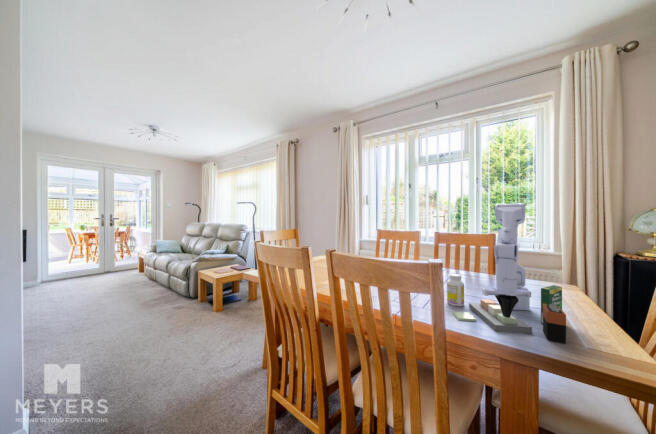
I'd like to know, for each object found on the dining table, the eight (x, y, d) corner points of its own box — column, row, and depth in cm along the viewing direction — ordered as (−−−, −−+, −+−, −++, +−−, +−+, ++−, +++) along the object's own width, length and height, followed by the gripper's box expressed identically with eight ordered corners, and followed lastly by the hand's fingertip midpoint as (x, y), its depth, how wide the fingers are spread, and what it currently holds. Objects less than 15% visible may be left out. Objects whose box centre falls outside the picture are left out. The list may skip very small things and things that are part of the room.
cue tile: (468, 314, 92) (468, 312, 92) (476, 321, 87) (476, 319, 87) (452, 313, 93) (452, 311, 93) (458, 320, 87) (458, 318, 87)
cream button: (499, 312, 90) (499, 305, 90) (505, 317, 86) (505, 309, 86) (488, 312, 90) (488, 304, 90) (493, 316, 87) (493, 308, 87)
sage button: (509, 322, 84) (509, 314, 84) (516, 327, 80) (516, 318, 80) (496, 321, 85) (496, 313, 85) (503, 326, 81) (503, 318, 81)
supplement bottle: (460, 301, 106) (459, 273, 106) (467, 307, 100) (467, 277, 100) (444, 300, 107) (444, 272, 107) (450, 306, 101) (450, 276, 100)
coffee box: (549, 327, 82) (549, 289, 82) (539, 323, 84) (539, 287, 84) (563, 323, 85) (563, 287, 85) (553, 319, 87) (553, 284, 87)
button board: (497, 309, 97) (497, 304, 97) (531, 333, 78) (531, 327, 78) (469, 307, 99) (469, 303, 99) (495, 331, 79) (495, 325, 79)
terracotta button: (491, 306, 96) (491, 299, 96) (496, 310, 92) (496, 303, 92) (480, 306, 96) (480, 299, 96) (485, 310, 92) (485, 302, 92)
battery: (547, 340, 73) (547, 308, 73) (542, 331, 79) (542, 301, 79) (566, 344, 71) (566, 311, 71) (560, 335, 76) (560, 304, 76)
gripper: (489, 279, 79) (489, 320, 79) (537, 281, 77) (537, 322, 77) (479, 274, 86) (479, 311, 86) (523, 276, 84) (523, 313, 84)
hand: (506, 316), depth 82 cm, fingers closed, pressing on sage button
